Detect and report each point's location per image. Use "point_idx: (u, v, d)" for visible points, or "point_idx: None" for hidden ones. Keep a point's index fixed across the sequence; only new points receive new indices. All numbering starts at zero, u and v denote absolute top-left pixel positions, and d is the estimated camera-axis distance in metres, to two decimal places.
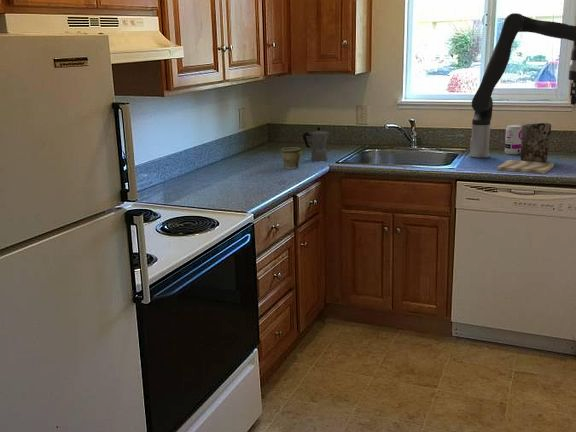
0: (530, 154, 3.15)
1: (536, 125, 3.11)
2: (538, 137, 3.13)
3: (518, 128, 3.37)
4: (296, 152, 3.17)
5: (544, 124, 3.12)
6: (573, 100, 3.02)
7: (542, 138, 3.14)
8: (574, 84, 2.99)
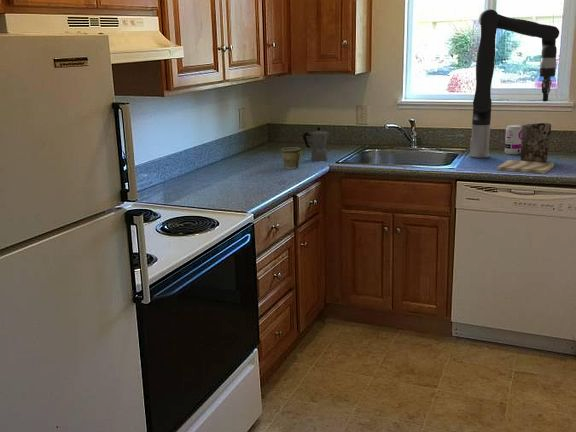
0: (530, 154, 3.15)
1: (536, 125, 3.11)
2: (538, 137, 3.13)
3: (518, 128, 3.37)
4: (296, 152, 3.17)
5: (544, 124, 3.12)
6: (545, 97, 3.23)
7: (542, 138, 3.14)
8: (544, 85, 3.18)
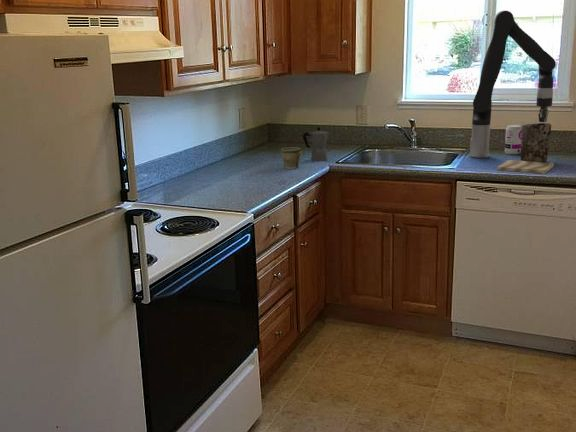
0: (530, 154, 3.15)
1: (536, 125, 3.11)
2: (538, 137, 3.13)
3: (518, 128, 3.37)
4: (296, 152, 3.17)
5: (544, 124, 3.12)
6: None
7: (542, 138, 3.14)
8: (541, 115, 3.20)
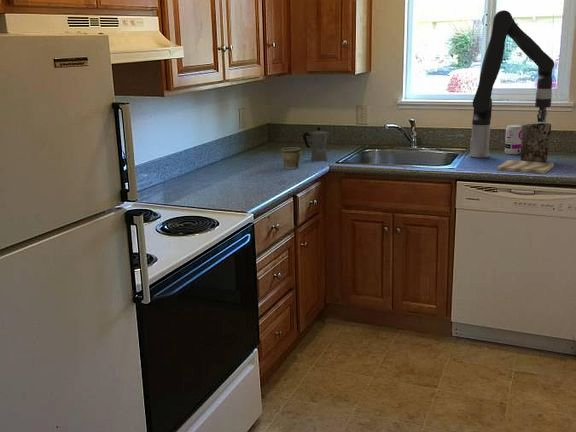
0: (530, 154, 3.15)
1: (536, 125, 3.11)
2: (538, 137, 3.13)
3: (518, 128, 3.37)
4: (296, 152, 3.17)
5: (544, 124, 3.12)
6: None
7: (542, 138, 3.14)
8: (540, 116, 3.18)
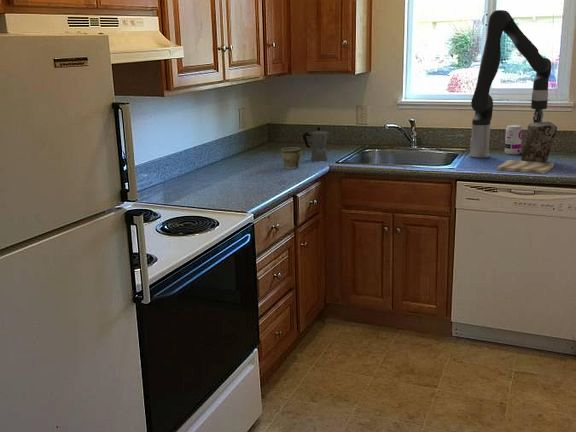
0: (532, 155, 3.14)
1: (542, 127, 3.07)
2: (542, 139, 3.10)
3: (518, 128, 3.37)
4: (296, 152, 3.17)
5: (550, 127, 3.08)
6: None
7: (546, 140, 3.11)
8: (536, 118, 3.11)
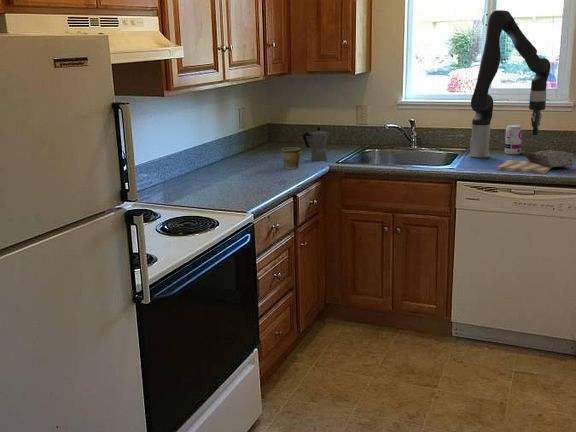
0: None
1: (556, 166, 2.98)
2: None
3: (518, 128, 3.37)
4: (296, 152, 3.17)
5: None
6: (535, 131, 3.12)
7: None
8: (534, 119, 3.07)
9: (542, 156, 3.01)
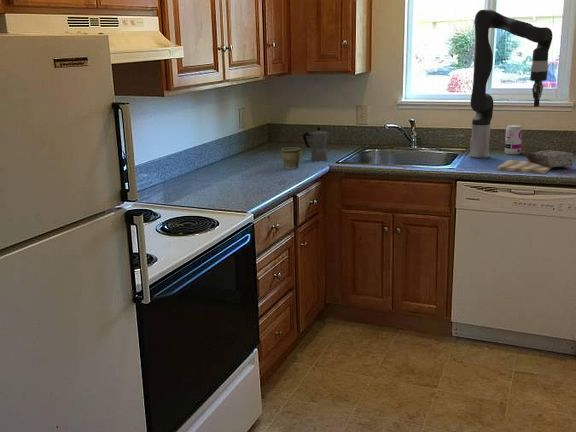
0: None
1: (556, 166, 2.98)
2: None
3: (518, 128, 3.37)
4: (296, 152, 3.17)
5: None
6: (536, 102, 3.07)
7: None
8: (535, 90, 3.01)
9: (542, 156, 3.01)
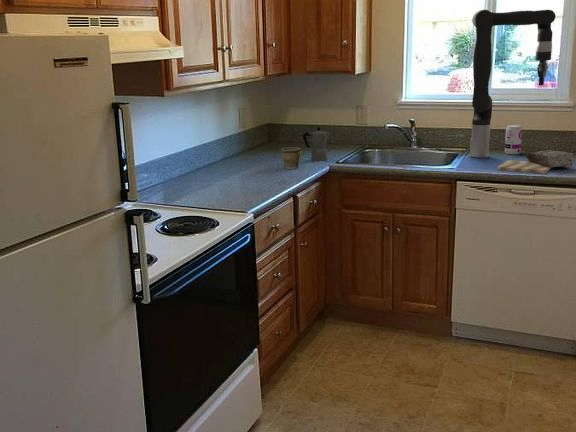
0: None
1: (556, 166, 2.98)
2: None
3: (518, 128, 3.37)
4: (296, 152, 3.17)
5: None
6: (541, 81, 3.24)
7: None
8: (540, 69, 3.19)
9: (542, 156, 3.01)
